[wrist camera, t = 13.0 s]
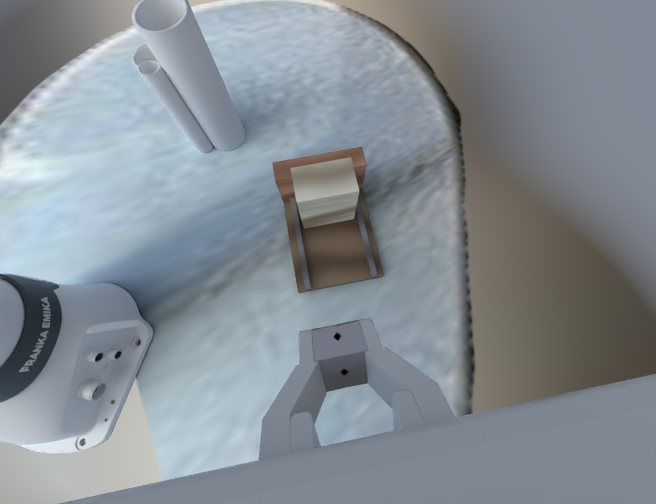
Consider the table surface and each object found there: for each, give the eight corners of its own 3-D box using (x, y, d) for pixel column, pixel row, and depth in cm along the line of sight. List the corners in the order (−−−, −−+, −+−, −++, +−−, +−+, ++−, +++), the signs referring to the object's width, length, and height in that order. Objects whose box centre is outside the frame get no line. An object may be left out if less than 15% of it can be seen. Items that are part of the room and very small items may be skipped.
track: (382, 276, 41) (393, 265, 34) (299, 293, 41) (291, 284, 33) (356, 176, 46) (361, 145, 39) (282, 189, 46) (272, 161, 38)
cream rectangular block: (353, 219, 42) (359, 191, 34) (303, 228, 42) (296, 202, 33) (347, 191, 44) (351, 157, 35) (298, 200, 43) (290, 168, 35)
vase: (247, 121, 50) (194, -10, 31) (242, 154, 48) (182, 37, 29) (188, 119, 50) (98, -11, 31) (180, 152, 48) (79, 35, 29)
